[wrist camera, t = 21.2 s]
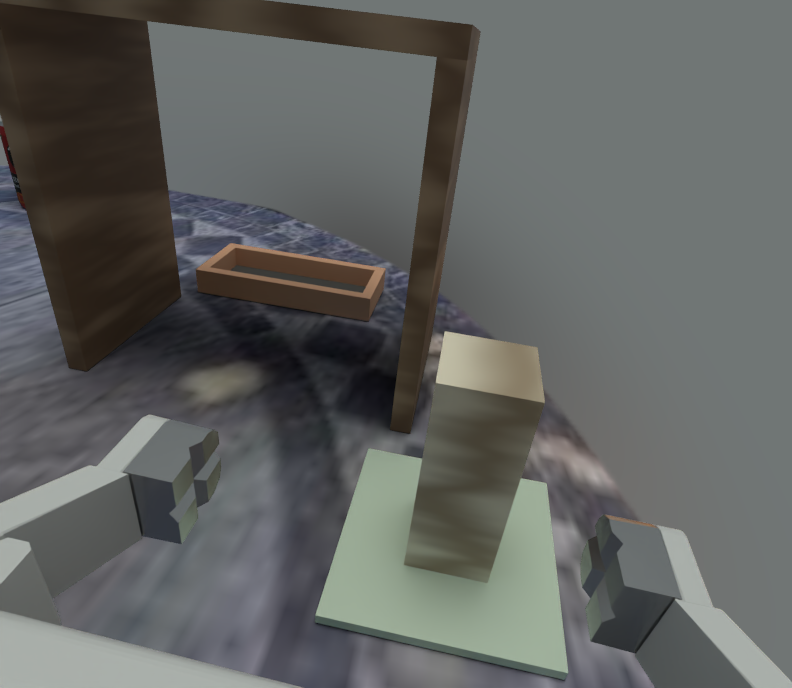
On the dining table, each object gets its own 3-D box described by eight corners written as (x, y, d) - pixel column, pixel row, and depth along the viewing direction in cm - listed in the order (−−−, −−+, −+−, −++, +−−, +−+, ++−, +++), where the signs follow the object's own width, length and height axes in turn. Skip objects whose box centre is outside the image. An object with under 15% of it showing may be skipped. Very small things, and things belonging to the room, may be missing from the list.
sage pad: (315, 622, 25) (315, 615, 25) (367, 454, 35) (368, 448, 35) (564, 680, 24) (568, 673, 24) (544, 489, 34) (546, 483, 34)
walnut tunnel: (69, 367, 40) (-41, -36, 27) (167, 293, 52) (124, -11, 39) (409, 433, 38) (472, 24, 24) (431, 339, 49) (480, 31, 36)
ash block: (403, 565, 28) (435, 382, 21) (415, 501, 31) (445, 331, 25) (487, 583, 27) (544, 402, 21) (488, 516, 31) (537, 347, 25)
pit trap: (198, 291, 53) (195, 269, 52) (232, 263, 60) (230, 243, 59) (368, 321, 51) (370, 298, 50) (383, 289, 58) (385, 268, 57)
